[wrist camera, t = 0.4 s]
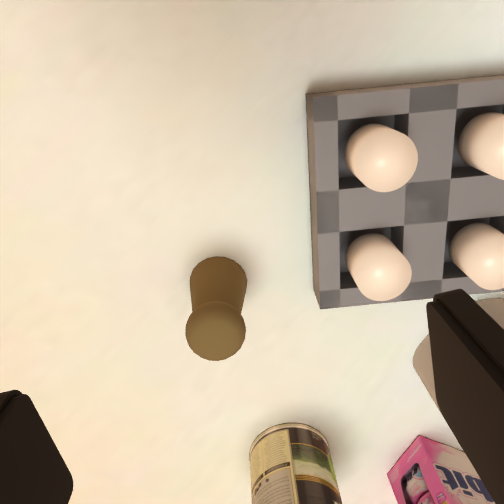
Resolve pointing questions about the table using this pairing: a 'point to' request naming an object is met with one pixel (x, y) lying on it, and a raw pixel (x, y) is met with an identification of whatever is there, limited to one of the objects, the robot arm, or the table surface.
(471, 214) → the button board
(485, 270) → the button
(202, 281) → the cork
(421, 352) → the lumpy-topped squat cylinder
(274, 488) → the coffee can
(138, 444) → the table surface
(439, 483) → the gum box
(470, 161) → the button
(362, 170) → the button
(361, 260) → the button
